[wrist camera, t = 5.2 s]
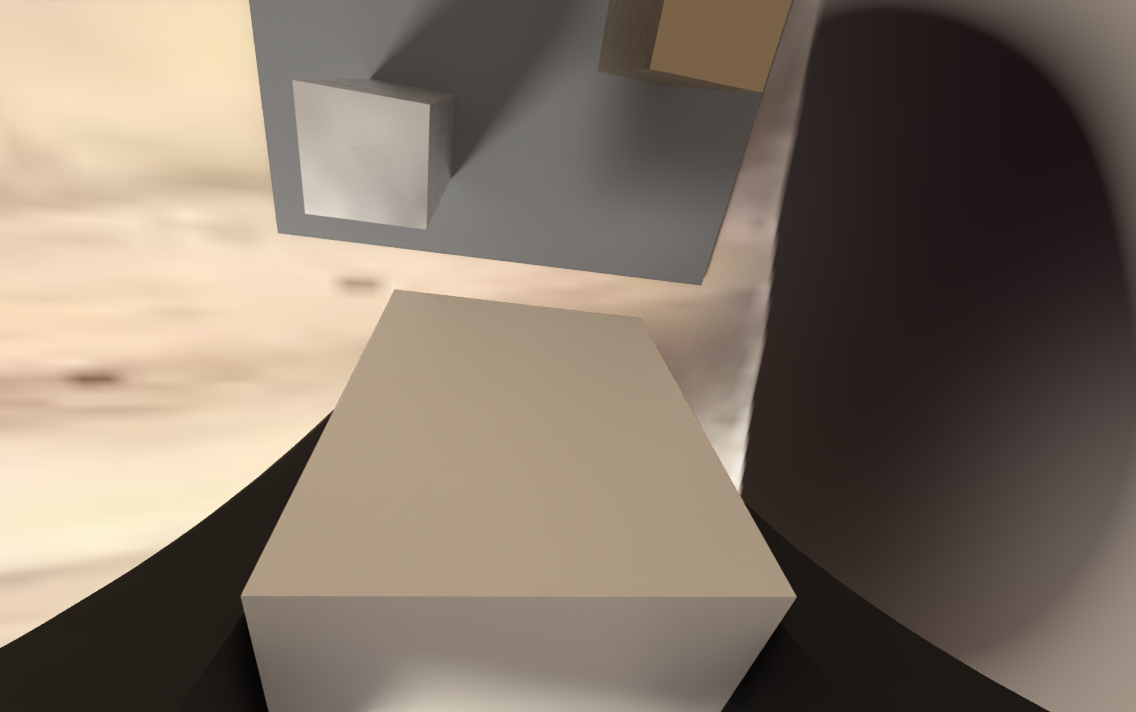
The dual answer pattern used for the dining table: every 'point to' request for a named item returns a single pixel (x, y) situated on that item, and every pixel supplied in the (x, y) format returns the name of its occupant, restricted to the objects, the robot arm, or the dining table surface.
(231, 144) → the dining table surface
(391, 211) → the steel post
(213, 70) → the dining table surface
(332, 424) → the beige block
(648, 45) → the bronze post
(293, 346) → the dining table surface
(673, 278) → the base board
